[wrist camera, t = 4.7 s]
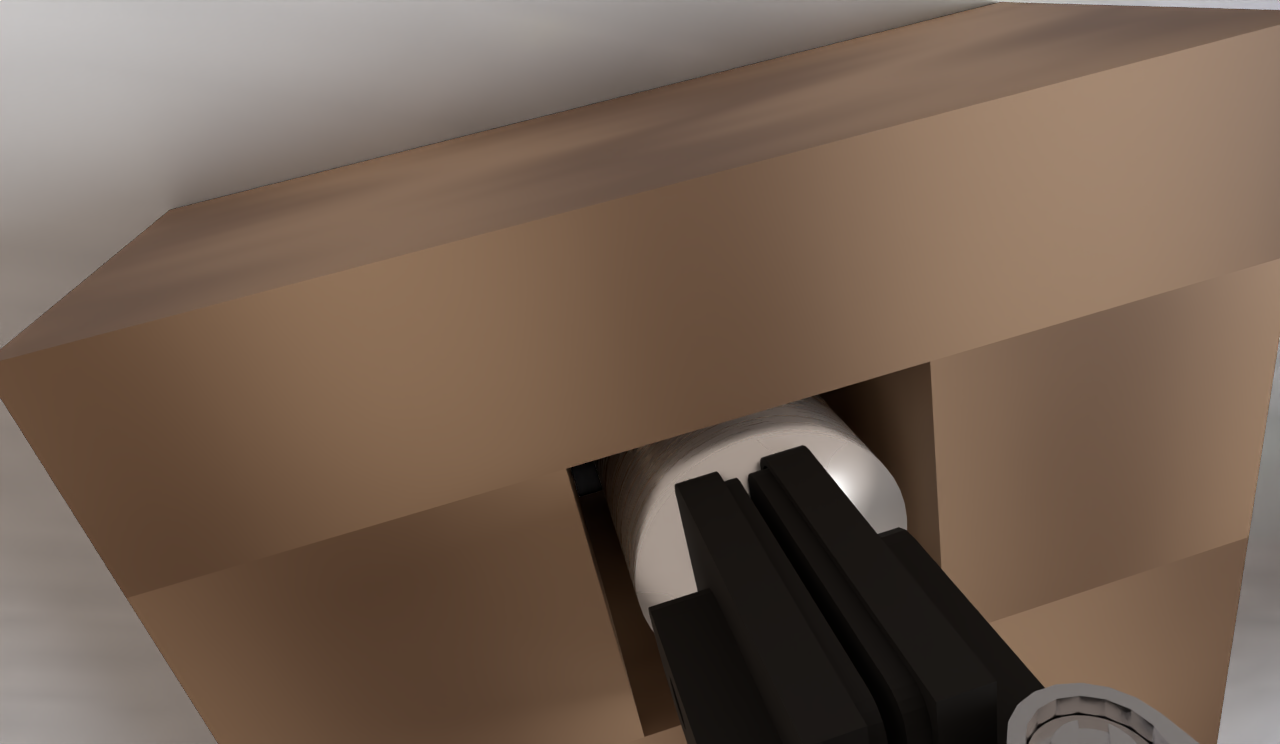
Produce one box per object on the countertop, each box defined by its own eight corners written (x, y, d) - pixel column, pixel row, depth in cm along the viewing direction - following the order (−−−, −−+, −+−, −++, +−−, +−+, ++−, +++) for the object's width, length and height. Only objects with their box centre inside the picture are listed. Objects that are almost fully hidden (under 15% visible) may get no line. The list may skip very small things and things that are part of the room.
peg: (747, 262, 15) (898, 398, 10) (774, 433, 17) (915, 622, 12) (551, 316, 15) (606, 484, 10) (597, 486, 16) (666, 703, 11)
